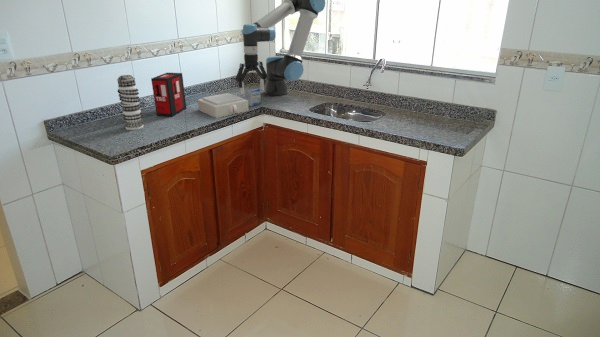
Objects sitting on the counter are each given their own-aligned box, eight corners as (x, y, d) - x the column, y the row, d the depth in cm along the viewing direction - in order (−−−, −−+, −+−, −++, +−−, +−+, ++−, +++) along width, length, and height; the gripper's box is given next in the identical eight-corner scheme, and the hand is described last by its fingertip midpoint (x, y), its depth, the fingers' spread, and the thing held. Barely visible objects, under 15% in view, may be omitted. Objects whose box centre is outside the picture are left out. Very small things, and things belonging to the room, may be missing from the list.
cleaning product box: (172, 107, 229) (167, 72, 221) (186, 108, 228) (182, 73, 219) (157, 116, 214) (151, 78, 206) (172, 117, 213) (167, 79, 205)
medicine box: (251, 106, 231) (251, 91, 227) (246, 105, 233) (245, 90, 230) (261, 103, 236) (260, 89, 233) (255, 102, 239) (254, 88, 235)
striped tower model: (123, 131, 192) (113, 78, 182) (125, 125, 200) (115, 74, 190) (143, 129, 194) (134, 77, 184) (145, 123, 202) (136, 73, 192)
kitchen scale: (230, 104, 236) (229, 91, 233) (249, 111, 221) (248, 98, 218) (198, 110, 224) (197, 97, 221) (217, 118, 210) (216, 105, 207)
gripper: (235, 56, 213) (237, 95, 221) (273, 52, 228) (273, 89, 236) (227, 54, 218) (230, 93, 227) (265, 51, 233) (266, 87, 241)
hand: (252, 91), depth 231 cm, fingers open, 13 cm apart
